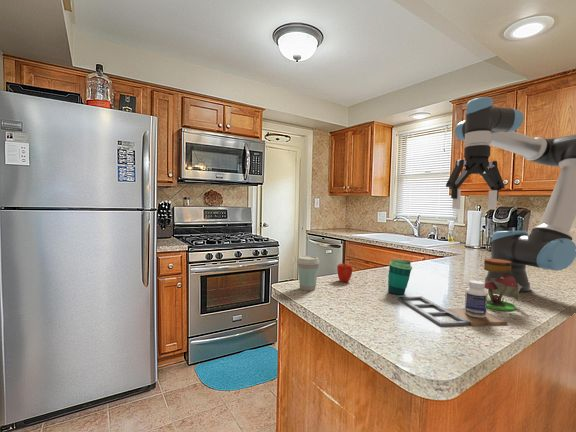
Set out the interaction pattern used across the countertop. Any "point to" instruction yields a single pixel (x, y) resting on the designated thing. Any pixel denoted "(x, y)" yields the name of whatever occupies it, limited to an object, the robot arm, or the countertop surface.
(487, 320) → the coaster
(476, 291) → the pill bottle
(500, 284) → the mushroom toy
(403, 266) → the cup
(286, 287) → the countertop surface
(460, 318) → the gray rectangular frame
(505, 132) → the robot arm
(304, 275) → the coffee cup
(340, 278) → the red bell pepper
